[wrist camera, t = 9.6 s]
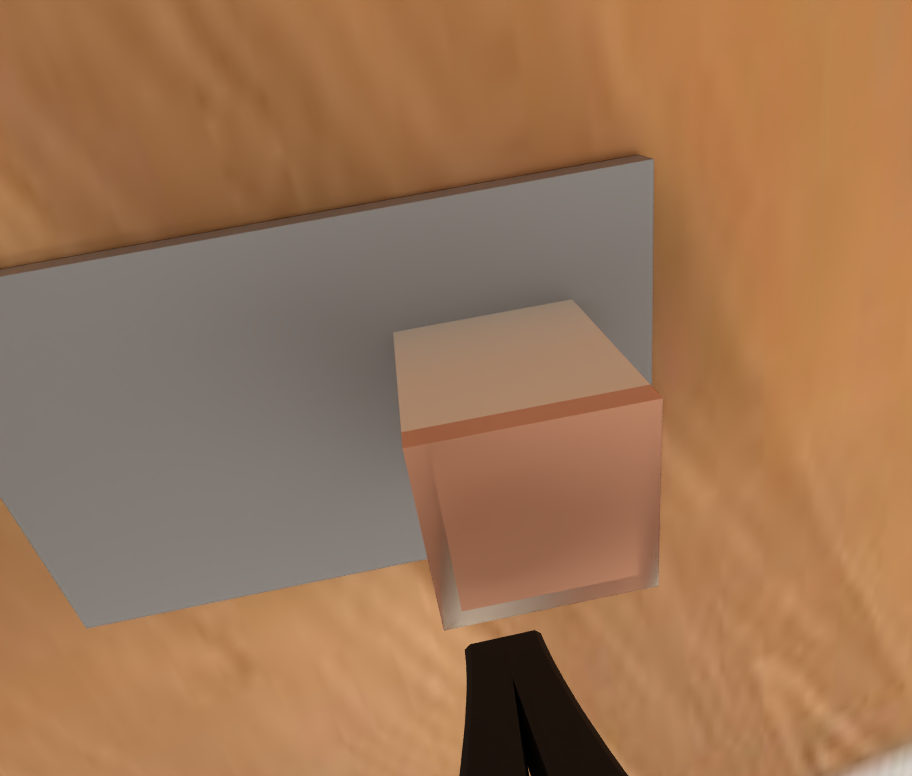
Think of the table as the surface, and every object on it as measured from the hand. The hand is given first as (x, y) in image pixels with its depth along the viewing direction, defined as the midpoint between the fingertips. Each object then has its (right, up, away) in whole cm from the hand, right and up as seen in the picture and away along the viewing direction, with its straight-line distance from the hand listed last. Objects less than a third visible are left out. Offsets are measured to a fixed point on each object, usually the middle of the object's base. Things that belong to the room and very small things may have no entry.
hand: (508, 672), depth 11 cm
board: (-5, +5, +8) cm, 10 cm away
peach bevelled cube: (0, +5, +7) cm, 9 cm away
